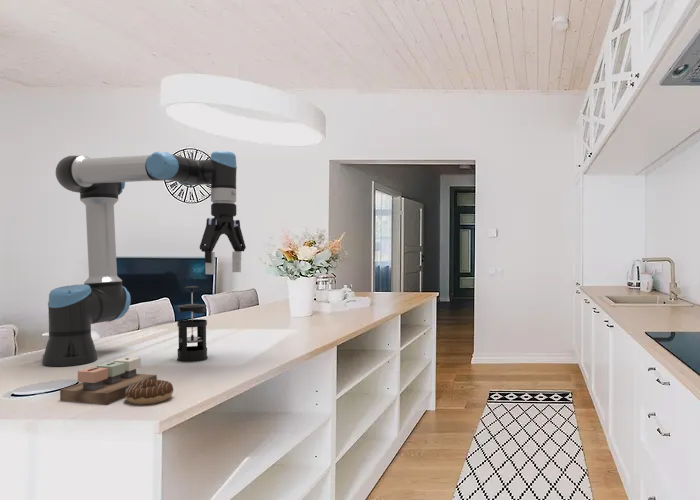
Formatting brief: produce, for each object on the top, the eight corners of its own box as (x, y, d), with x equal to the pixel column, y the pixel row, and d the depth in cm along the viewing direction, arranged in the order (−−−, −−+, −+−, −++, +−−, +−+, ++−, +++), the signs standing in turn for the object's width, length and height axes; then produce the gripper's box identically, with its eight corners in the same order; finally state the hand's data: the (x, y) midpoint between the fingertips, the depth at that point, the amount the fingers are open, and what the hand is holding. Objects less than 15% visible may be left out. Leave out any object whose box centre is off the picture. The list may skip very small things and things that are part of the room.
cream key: (113, 370, 135) (113, 359, 135) (125, 366, 140) (125, 356, 140) (129, 371, 134) (128, 360, 134) (140, 367, 138) (140, 357, 138)
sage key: (96, 375, 129) (96, 364, 129) (109, 371, 134) (109, 361, 134) (112, 376, 128) (112, 365, 128) (124, 372, 133) (124, 362, 133)
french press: (196, 363, 163) (195, 287, 163) (169, 361, 166) (168, 287, 166) (216, 355, 174) (215, 285, 174) (190, 354, 177) (190, 284, 177)
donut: (183, 396, 127) (183, 379, 127) (150, 409, 118) (150, 390, 118) (148, 392, 132) (148, 375, 132) (114, 403, 122) (114, 386, 122)
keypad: (60, 400, 124) (60, 381, 124) (113, 381, 141) (113, 365, 141) (107, 404, 121) (107, 385, 121) (156, 384, 138) (156, 367, 138)
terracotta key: (77, 381, 124) (77, 370, 124) (92, 377, 128) (91, 366, 128) (94, 382, 122) (94, 371, 122) (107, 378, 127) (107, 367, 127)
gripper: (208, 199, 150) (208, 275, 150) (256, 205, 173) (256, 271, 173) (186, 200, 153) (186, 274, 153) (236, 206, 176) (236, 271, 176)
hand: (223, 273), depth 163 cm, fingers open, 13 cm apart
